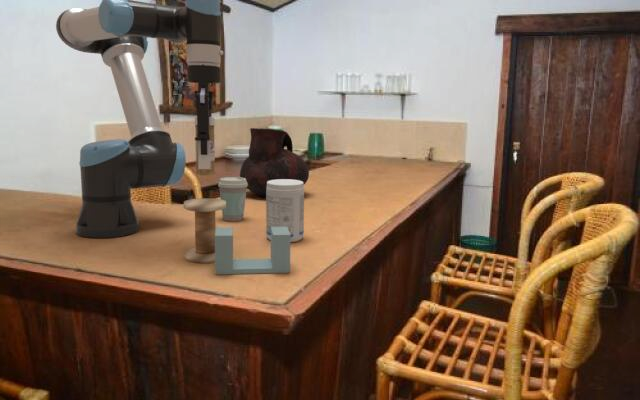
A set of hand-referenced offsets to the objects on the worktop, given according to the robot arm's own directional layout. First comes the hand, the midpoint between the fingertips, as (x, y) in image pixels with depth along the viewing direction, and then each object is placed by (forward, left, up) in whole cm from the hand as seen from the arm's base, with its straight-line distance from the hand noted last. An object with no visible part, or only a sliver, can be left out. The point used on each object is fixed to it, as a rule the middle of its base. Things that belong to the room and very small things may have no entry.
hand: (205, 167), depth 125 cm
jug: (+21, +68, -19) cm, 73 cm away
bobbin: (0, -10, -19) cm, 21 cm away
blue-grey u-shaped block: (+10, -19, -19) cm, 29 cm away
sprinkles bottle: (0, 0, -2) cm, 2 cm away
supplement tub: (+19, +5, -19) cm, 28 cm away
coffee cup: (+6, +28, -19) cm, 34 cm away
